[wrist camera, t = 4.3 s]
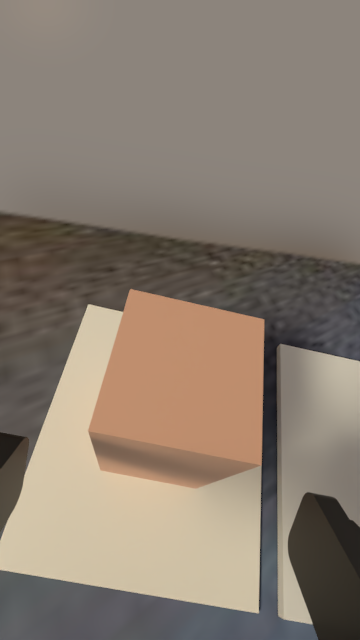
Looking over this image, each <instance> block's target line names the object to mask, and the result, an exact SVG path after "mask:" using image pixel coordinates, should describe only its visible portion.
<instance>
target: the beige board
mask: <svg viewBox="0 0 360 640" xmlns="http://www.w3.org/2000/svg"><path fill="white" fill-rule="evenodd" d="M307 492H310V493H315V494H321V495H326V496H331V497H334V498H336V499H337V501H338V502H339V503H340V505H341V507H342V508H343V510H344V511H345V513H346V515H347V516H348V518H349V519H350V520H353V521H354V522H355V523H356V524H357V525H358V526H359V527H360V361H356V360H351V359H347V358H342V357H338V356H333V355H329V354H324V353H320V352H315V351H311V350H306V349H302V348H297V347H293V346H288V345H284V344H280V345H279V346H278V347H277V512H278V616H279V617H281V618H282V619H285V620H291V621H296V622H302V623H308V624H313V623H312V620H311V617H310V615H309V612H308V609H307V606H306V604H305V601H304V598H303V595H302V593H301V590H300V587H299V584H298V582H297V579H296V576H295V573H294V570H293V568H292V565H291V562H290V559H289V555H288V536H289V533H290V530H291V527H292V524H293V522H294V519H295V516H296V514H297V511H298V508H299V506H300V503H301V500H302V498H303V496H304V494H305V493H307Z"/></svg>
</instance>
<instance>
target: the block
mask: <svg viewBox="0 0 360 640" xmlns="http://www.w3.org/2000/svg"><path fill="white" fill-rule="evenodd" d="M263 366H264V319H260V318H255V317H251V316H247V315H242V314H238V313H233V312H229V311H225V310H220V309H216V308H211V307H207V306H203V305H198V304H194V303H189V302H185V301H181V300H176V299H172V298H167V297H163V296H159V295H154V294H150V293H145V292H141V291H136V290H132V289H130V291H129V295H128V298H127V301H126V305H125V308H124V312H123V315H122V318H121V322H120V325H119V328H118V332H117V335H116V338H115V342H114V345H113V349H112V352H111V355H110V359H109V362H108V365H107V369H106V372H105V375H104V379H103V382H102V385H101V389H100V392H99V396H98V399H97V402H96V406H95V409H94V412H93V416H92V419H91V422H90V426H89V429H88V433H89V436H90V439H91V442H92V445H93V448H94V452H95V455H96V458H97V461H98V464H99V467H100V470H101V471H106V472H112V473H117V474H122V475H127V476H132V477H138V478H143V479H148V480H153V481H159V482H164V483H169V484H174V485H180V486H185V487H190V488H195V489H196V488H199V487H202V486H205V485H208V484H211V483H213V482H216V481H219V480H222V479H225V478H227V477H230V476H233V475H236V474H239V473H242V472H244V471H247V470H250V469H253V468H256V467H258V466H261V465H262V421H263Z"/></svg>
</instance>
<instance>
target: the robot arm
mask: <svg viewBox="0 0 360 640" xmlns="http://www.w3.org/2000/svg"><path fill="white" fill-rule="evenodd" d="M28 446H29V439H28V438H27V437H22V436H17V435H12V434H7V433H1V432H0V532H1V530H2V528H3V527H4V525H5V523H6V522H7V520H8V518H9V517H10V515H11V513H12V512H13V510H14V508H15V506H16V504H17V502H18V499H19V497H20V494H21V490H22V486H23V481H24V474H25V467H26V460H27V453H28ZM288 555H289V559H290V562H291V565H292V568H293V570H294V573H295V576H296V579H297V582H298V584H299V587H300V590H301V593H302V595H303V598H304V601H305V604H306V606H307V609H308V612H309V615H310V617H311V620H312V623H313V626H314V628H315V631H316V634H317V637H318V639H319V640H360V527H359V526H358V525H357V524H356V523H355V522H354V521H353V520H350V519H349V518H348V516H347V515H346V513H345V511H344V510H343V508H342V507H341V505H340V503H339V502H338V501H337V499H336V498H334V497H331V496H326V495H321V494H315V493H310V492H307V493H305V494H304V496H303V498H302V500H301V503H300V506H299V508H298V511H297V514H296V516H295V519H294V522H293V524H292V527H291V530H290V533H289V536H288Z"/></svg>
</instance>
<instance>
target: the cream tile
mask: <svg viewBox="0 0 360 640" xmlns="http://www.w3.org/2000/svg"><path fill="white" fill-rule="evenodd" d="M122 315H123V312H121V311H116V310H112V309H107V308H103V307H98V306H94V305H89V304H88V307H87V309H86V312H85V315H84V317H83V320H82V323H81V326H80V328H79V331H78V334H77V336H76V339H75V342H74V344H73V347H72V350H71V352H70V355H69V358H68V360H67V363H66V366H65V368H64V371H63V374H62V377H61V379H60V382H59V385H58V387H57V390H56V393H55V395H54V398H53V401H52V403H51V406H50V409H49V411H48V414H47V417H46V419H45V422H44V425H43V428H42V430H41V433H40V436H39V438H38V441H37V444H36V446H35V449H34V452H33V454H32V457H31V460H30V462H29V465H28V468H27V470H26V473H25V476H24V481H23V486H22V490H21V494H20V497H19V499H18V502H17V504H16V506H15V508H14V510H13V512H12V513H11V515H10V517H9V519H8V521H7V524H6V527H5V530H4V532H3V535H2V538H1V540H0V570H5V571H11V572H16V573H22V574H28V575H34V576H40V577H46V578H52V579H58V580H64V581H70V582H76V583H82V584H87V585H93V586H99V587H105V588H111V589H117V590H123V591H129V592H135V593H141V594H147V595H153V596H158V597H164V598H170V599H176V600H182V601H188V602H194V603H200V604H206V605H212V606H218V607H224V608H229V609H235V610H241V611H247V612H253V613H259V572H260V518H261V466H258V467H256V468H253V469H250V470H247V471H244V472H242V473H239V474H236V475H233V476H230V477H227V478H225V479H222V480H219V481H216V482H213V483H211V484H208V485H205V486H202V487H199V488H196V489H195V488H190V487H185V486H180V485H174V484H169V483H164V482H159V481H153V480H148V479H143V478H138V477H132V476H127V475H122V474H117V473H112V472H106V471H101V470H100V467H99V464H98V461H97V458H96V455H95V452H94V448H93V445H92V442H91V439H90V436H89V433H88V429H89V426H90V422H91V419H92V416H93V412H94V409H95V406H96V402H97V399H98V396H99V392H100V389H101V385H102V382H103V379H104V375H105V372H106V369H107V365H108V362H109V359H110V355H111V352H112V349H113V345H114V342H115V338H116V335H117V332H118V328H119V325H120V322H121V318H122Z"/></svg>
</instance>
